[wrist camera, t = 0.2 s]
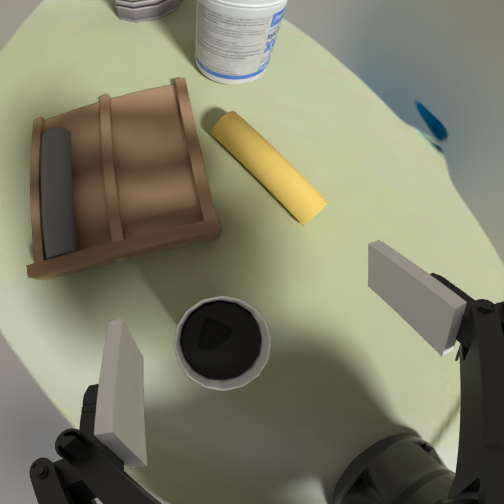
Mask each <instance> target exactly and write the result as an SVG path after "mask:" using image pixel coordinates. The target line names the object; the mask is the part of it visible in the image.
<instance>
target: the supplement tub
mask: <svg viewBox="0 0 504 504" xmlns="http://www.w3.org/2000/svg"><path fill="white" fill-rule="evenodd" d="M287 1H288V0H197V9H196V52H195V59H196V64H197V66H198V68H199V70H200V71H201V72H202V73H203V74H204V75H205V76H206V77H208V78H209V79H211V80H213V81H215V82H218V83H222V84H228V85H239V84H245V83H249V82H252V81H254V80H256V79H258V78H259V77H260V76H261V75H262V74H263V73H264V72H265V70H266V69H267V66H268V63H269V59H270V56H271V53H272V49H273V46H274V43H275V40H276V36H277V33H278V30H279V27H280V23H281V20H282V17H283V14H284V11H285V7H286V4H287Z"/></svg>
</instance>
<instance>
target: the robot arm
mask: <svg viewBox="0 0 504 504" xmlns="http://www.w3.org/2000/svg"><path fill="white" fill-rule="evenodd" d="M368 286H369V287H370V288H371V289H372V290H373V291H374V292H375V293H376V294H377V295H379V296H380V297H381V298H382V299H383V300H384V301H385V302H386V303H387V304H388V305H389V306H390V307H391V308H392V309H394V310H395V311H396V312H397V313H398V314H399V315H400V316H401V317H402V318H403V319H404V320H405V321H406V322H407V323H408V324H409V325H410V326H411V327H412V328H413V329H414V330H416V331H417V332H418V333H419V334H420V335H421V336H422V337H423V338H424V339H425V340H426V341H427V342H428V343H429V344H430V345H431V346H432V347H433V348H434V349H435V350H436V351H437V352H438V353H439V354H440V355H441V356H443V355H445V354H447V353H448V352H450V351H451V350H453V348H454V345H455V342H456V340H457V341H458V342H460V343H461V344H460V347H459V350H458V353H457V355H456V359H455V361H457V360H458V357H459V356H460V379H461V410H460V433H459V447H458V457H457V466H456V473H454V472H452V471H450V470H449V469H448V468H447V467H446V465H445V464H444V462H443V461H442V460H441V458H440V457H439V455H438V454H437V452H436V451H435V449H434V448H433V447H432V446H431V445H430V444H429V443H428V442H426V441H424V440H422V439H421V438H419V437H417V436H414V435H409V434H402V435H396V436H392V437H389V438H387V439H384V440H382V441H380V442H378V443H376V444H375V445H373V446H372V447H370V448H369V449H367V450H366V451H365V452H363V453H362V454H361V455H360V456H359V457H358V458H357V459H356V460H354V462H353V463H352V464H351V465H350V466H349V467H348V468H347V470H346V471H345V472H344V474H343V475H342V477H341V478H340V480H339V482H338V484H337V487H336V489H335V493H334V499H333V504H504V302H500V303H496V304H493V303H492V302H491V301H488V300H485V299H479V300H476V301H475V300H474V299H472V298H471V297H470V296H468V295H467V294H466V293H464V292H463V291H462V290H460V289H459V288H458V287H455V285H453V284H452V283H451V282H450V283H449V281H448V280H447V279H445V278H444V277H442V276H440V275H437V274H434V273H431V274H428V273H427V272H425V271H424V270H423V269H421V268H420V267H418V266H417V265H416V264H414V263H413V262H411V261H410V260H408V259H407V258H406V257H404V256H403V255H401V254H400V253H398V252H397V251H395V250H394V249H392V248H391V247H389V246H388V245H386V244H385V243H383V242H382V241H380V240H378V241H375V242H372V243H369V244H368ZM81 413H82V414H81V420H80V428H79V430H78V429H73V428H71V429H67V430H65V431H64V432H62V433H61V434H60V435H59V436H58V437H57V440H56V442H55V449H56V452H57V454H58V455H60V456H61V457H62V458H63V459H61V460H59V461H56V462H54V463H53V462H52V461H50V460H49V459H47V458H39V459H37V460H36V461H35V462H33V464H32V466H31V468H30V478H31V482H32V485H33V488H34V491H35V494H36V497H37V501H38V503H39V504H97V503H96V501H95V499H94V498H97V497H98V498H99V500H100V501H101V502H102V503H103V504H161V503H160V502H159V501H158V500H157V499H155V498H154V497H153V496H152V495H151V494H149V493H148V492H147V491H146V490H145V489H144V488H142V487H141V486H140V485H139V484H138V483H137V482H136V481H135V480H134V479H132V478H131V477H130V476H129V475H128V474H127V473H126V472H125V471H124V463H125V464H126V465H127V466H128V467H129V468H130V469H131V468H139V467H146V466H148V465H147V453H146V438H145V419H144V384H143V356H142V354H141V352H140V350H139V349H138V347H137V345H136V343H135V341H134V339H133V338H132V336H131V334H130V332H129V330H128V328H127V326H126V324H125V322H124V320H123V318H121V319H117V320H113V321H110V322H109V323H108V329H107V334H106V340H105V346H104V352H103V358H102V365H101V372H100V379H99V384H96V385H90V386H89V387H88V389H87V390H86V392H85V394H84V398H83V407H82V412H81Z"/></svg>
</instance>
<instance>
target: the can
mask: <svg viewBox="0 0 504 504" xmlns="http://www.w3.org/2000/svg"><path fill="white" fill-rule="evenodd" d="M181 1H182V0H113V3H114V8H115V11H116V13H117V15H118V18H119V19H121V20H126V21H131V22H135V23H136V22H142V21H148V20H155V19H159V18H161V17H163V16H165V15H167V14H169V13H171V12H173V11H175V10H176V9H177V8H178V6H179V4H180V2H181Z"/></svg>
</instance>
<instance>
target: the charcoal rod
mask: <svg viewBox="0 0 504 504" xmlns="http://www.w3.org/2000/svg"><path fill="white" fill-rule="evenodd" d="M41 194H42V217H43V231H44V242H45V251H46V259H47V260H48V259H51V258H55V257H58V256H62V255H66V254H69V253H73V252H77V251H79V248H78V241H77V232H76V224H75V214H74V202H73V188H72V166H71V133H70V131H69V130H67V129H64V128H53V129H50V130H48V131H46V132H45V133H44V134H43V137H42V156H41Z"/></svg>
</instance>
